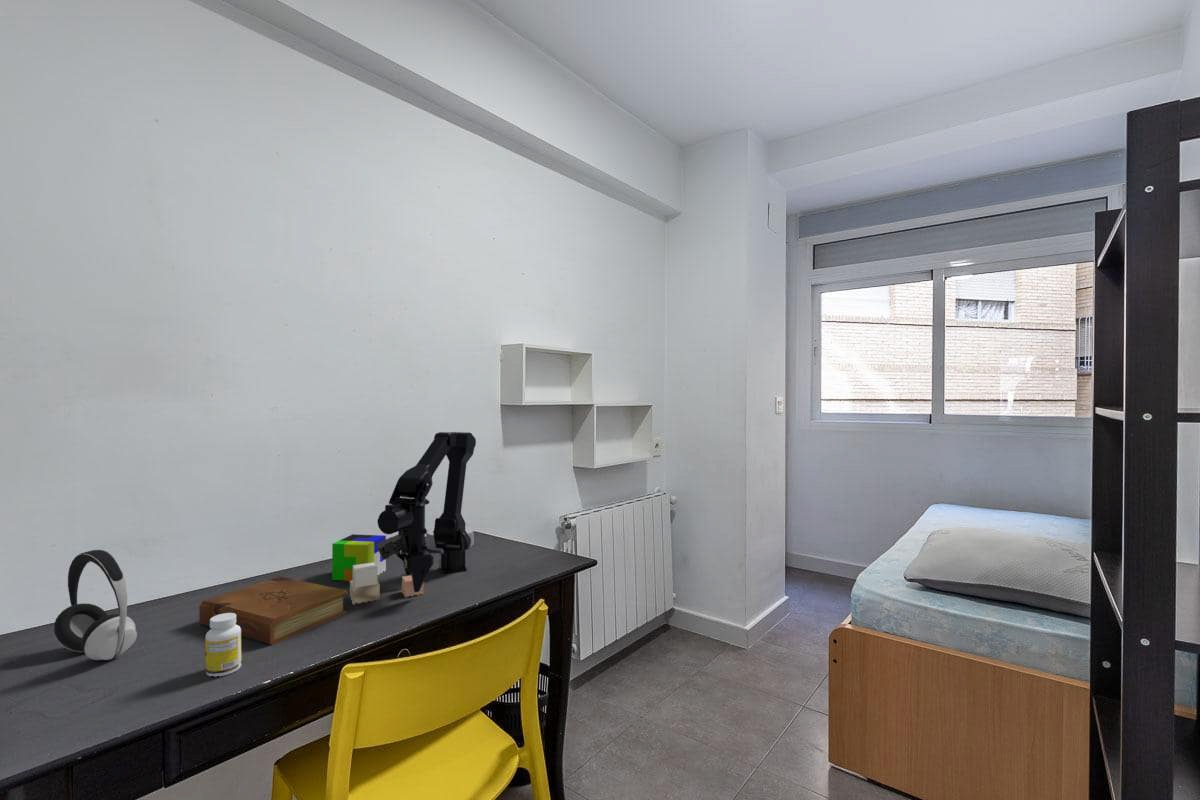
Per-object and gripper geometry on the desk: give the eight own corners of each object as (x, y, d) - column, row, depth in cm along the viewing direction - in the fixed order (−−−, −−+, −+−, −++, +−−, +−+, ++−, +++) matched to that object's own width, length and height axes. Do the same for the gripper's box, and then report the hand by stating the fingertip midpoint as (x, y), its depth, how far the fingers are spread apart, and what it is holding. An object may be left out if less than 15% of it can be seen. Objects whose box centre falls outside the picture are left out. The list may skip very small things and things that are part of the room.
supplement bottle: (216, 663, 104) (216, 611, 104) (247, 662, 105) (247, 610, 104) (198, 678, 99) (198, 623, 99) (230, 677, 99) (230, 622, 99)
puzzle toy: (385, 570, 159) (385, 535, 159) (367, 582, 149) (367, 545, 149) (352, 569, 160) (352, 534, 160) (332, 580, 150) (332, 543, 150)
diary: (199, 628, 121) (199, 601, 121) (279, 599, 138) (279, 576, 138) (270, 648, 112) (270, 619, 111) (347, 614, 129) (347, 589, 128)
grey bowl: (453, 537, 197) (453, 522, 197) (483, 544, 188) (483, 529, 188) (416, 546, 184) (416, 531, 184) (446, 554, 175) (446, 538, 175)
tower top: (374, 578, 141) (374, 562, 141) (377, 584, 137) (377, 568, 137) (352, 581, 138) (352, 565, 138) (355, 587, 134) (355, 571, 134)
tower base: (375, 592, 142) (375, 577, 142) (379, 600, 137) (379, 584, 137) (349, 597, 139) (349, 581, 139) (352, 605, 134) (352, 588, 134)
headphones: (149, 655, 107) (149, 551, 107) (94, 675, 99) (94, 563, 99) (96, 636, 115) (96, 539, 115) (42, 653, 107) (42, 550, 107)
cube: (419, 589, 144) (419, 574, 144) (423, 594, 141) (423, 578, 140) (401, 592, 142) (402, 576, 142) (405, 597, 138) (405, 581, 138)
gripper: (373, 520, 145) (373, 580, 145) (385, 537, 129) (385, 604, 129) (417, 516, 151) (417, 573, 151) (434, 531, 135) (433, 595, 135)
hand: (412, 586), depth 141 cm, fingers open, 9 cm apart
